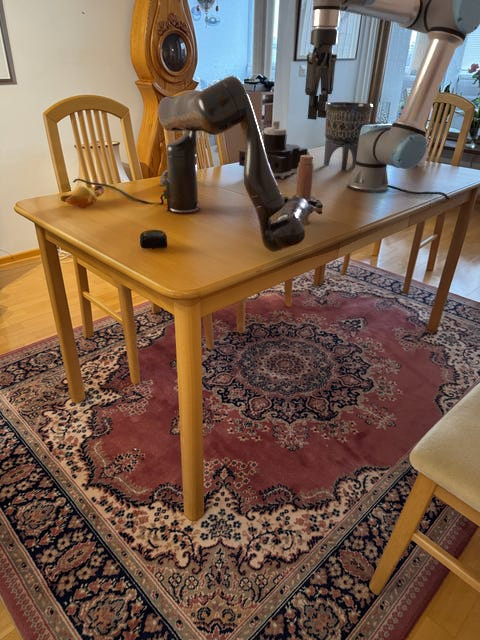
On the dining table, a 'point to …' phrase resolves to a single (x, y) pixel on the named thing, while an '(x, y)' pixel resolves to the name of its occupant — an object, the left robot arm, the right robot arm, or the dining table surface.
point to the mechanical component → (279, 151)
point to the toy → (83, 196)
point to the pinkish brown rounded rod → (304, 177)
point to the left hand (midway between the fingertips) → (304, 198)
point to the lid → (321, 105)
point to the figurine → (424, 155)
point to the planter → (345, 129)
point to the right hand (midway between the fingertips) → (316, 118)
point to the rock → (164, 177)
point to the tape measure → (153, 239)
